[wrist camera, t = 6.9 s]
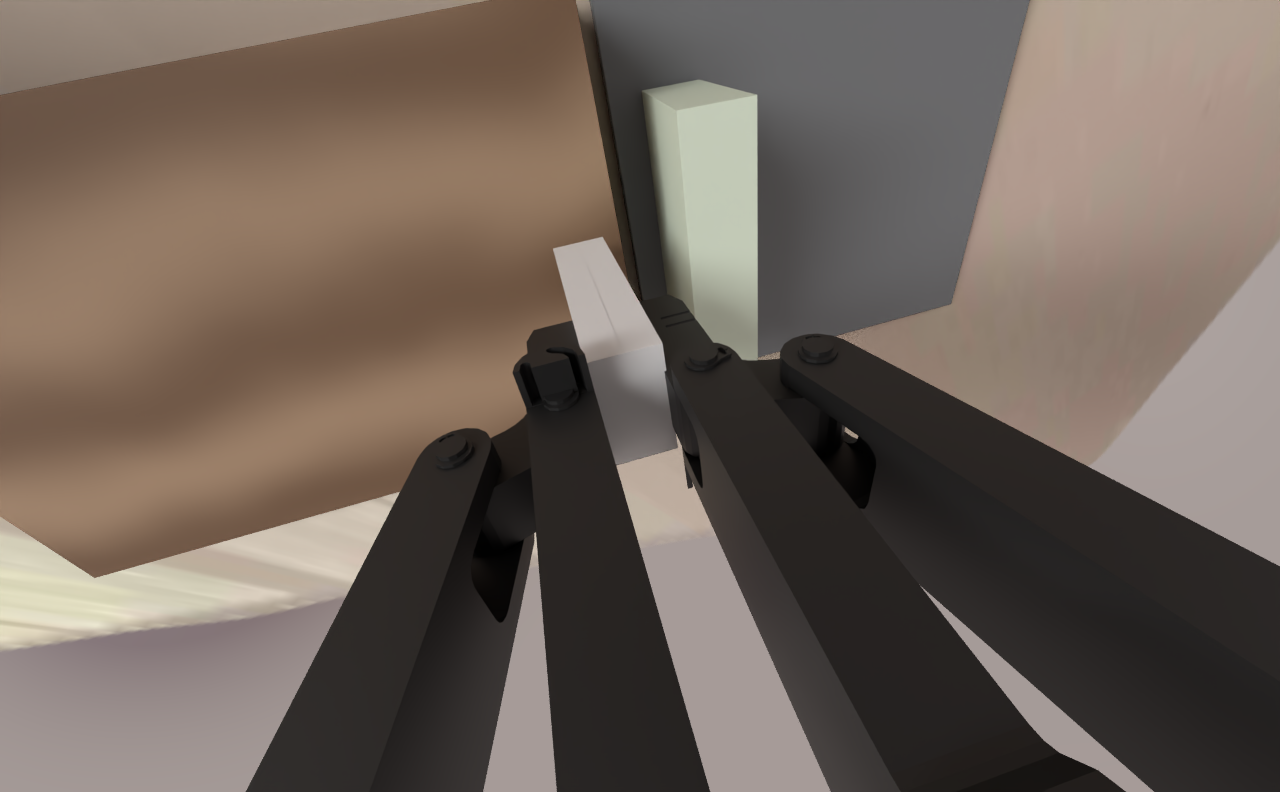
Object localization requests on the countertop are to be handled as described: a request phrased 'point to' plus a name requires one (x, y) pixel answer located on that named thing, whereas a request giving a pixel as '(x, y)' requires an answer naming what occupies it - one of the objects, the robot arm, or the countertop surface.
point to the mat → (827, 140)
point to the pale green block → (708, 204)
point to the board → (282, 271)
